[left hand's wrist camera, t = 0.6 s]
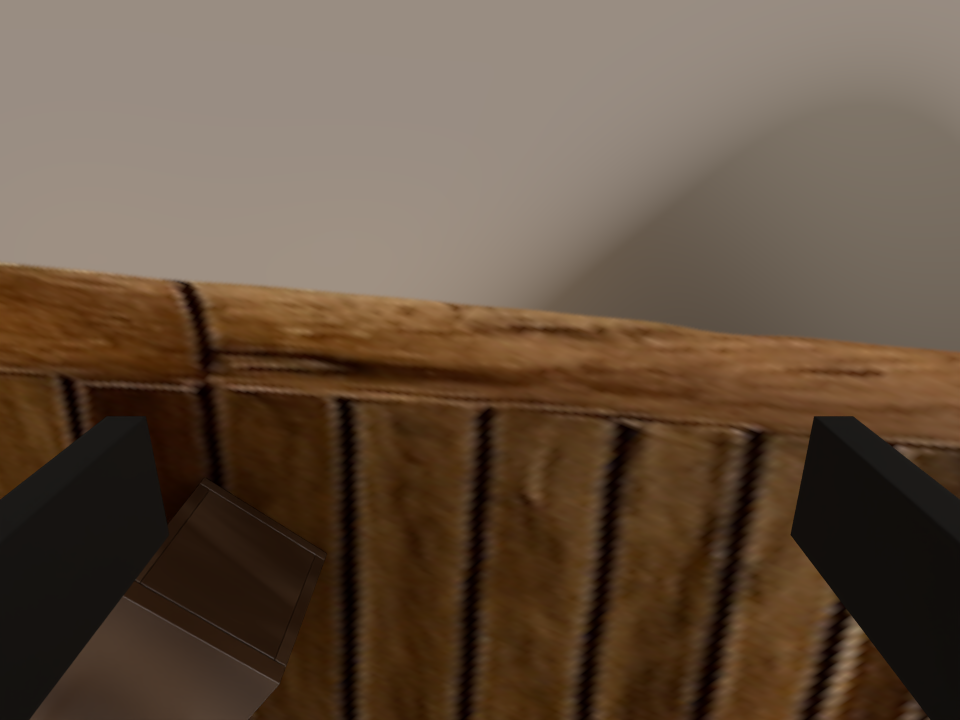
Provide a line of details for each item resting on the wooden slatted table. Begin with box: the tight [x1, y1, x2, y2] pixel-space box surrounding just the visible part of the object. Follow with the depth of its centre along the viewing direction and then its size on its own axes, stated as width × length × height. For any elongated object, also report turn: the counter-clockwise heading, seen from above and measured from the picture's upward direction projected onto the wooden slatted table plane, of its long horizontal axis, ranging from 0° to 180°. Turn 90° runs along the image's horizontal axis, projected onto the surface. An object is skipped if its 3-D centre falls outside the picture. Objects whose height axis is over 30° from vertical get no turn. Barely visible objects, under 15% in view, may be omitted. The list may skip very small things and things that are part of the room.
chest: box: [135, 478, 327, 667], centre depth 40 cm, size 17×9×10 cm, turn 142°
